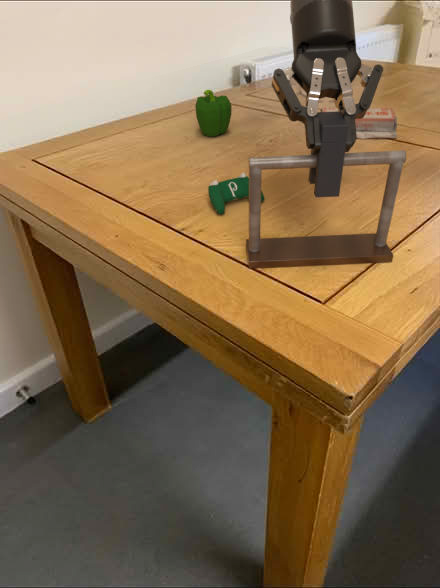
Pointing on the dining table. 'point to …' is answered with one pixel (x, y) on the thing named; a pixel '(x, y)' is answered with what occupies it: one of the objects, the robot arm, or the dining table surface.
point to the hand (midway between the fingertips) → (332, 149)
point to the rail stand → (321, 247)
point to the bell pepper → (213, 114)
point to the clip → (329, 155)
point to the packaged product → (374, 123)
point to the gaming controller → (229, 191)
